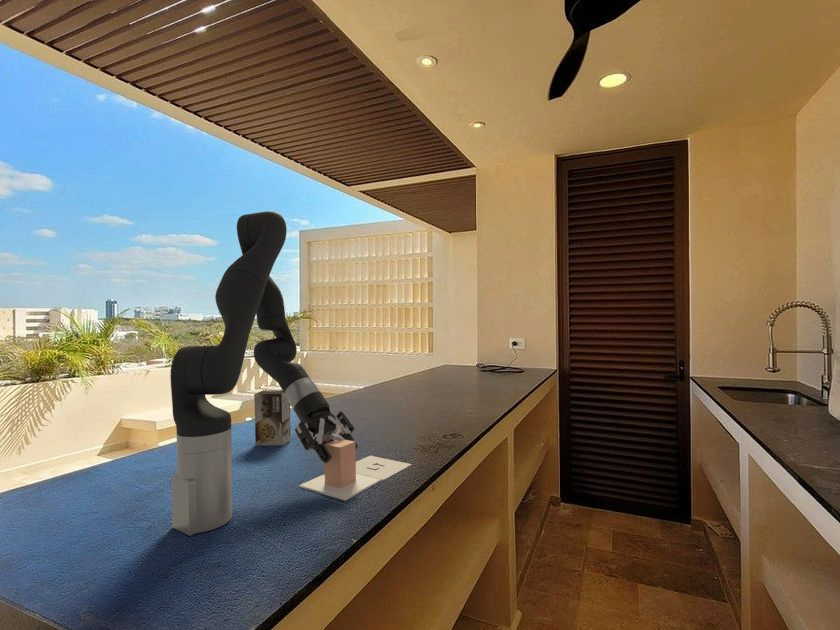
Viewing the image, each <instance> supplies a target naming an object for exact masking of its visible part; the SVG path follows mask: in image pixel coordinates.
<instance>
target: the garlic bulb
mask: <svg viewBox="0 0 840 630" xmlns="http://www.w3.org/2000/svg"><path fill="white" fill-rule="evenodd" d="M334 437H335V436H333V435H329V436H325V437H323V438H322V443H329V442H331V440H332V439H333V438H334Z"/></svg>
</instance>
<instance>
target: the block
mask: <svg viewBox="0 0 840 630" xmlns="http://www.w3.org/2000/svg"><path fill="white" fill-rule="evenodd" d="M355 442H356V440H354V441H349V440H344V439H341V438H337V439H334V440H332V441H329V442H325V443H323V444H324V445H325V446H326V448H327V450H328V451H329V453H330V454H331V456H332V458H331V459H330V461H329V462H327V463H324V462H323V463H324V467H323V468H324V474H325V484H327V485H331V486H335V487H338V488H343V487H345V486H346V485H348V484H350V483H352V482H354V481H356V462H357V460H356V455H357V454H356V450H357V449H355Z"/></svg>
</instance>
